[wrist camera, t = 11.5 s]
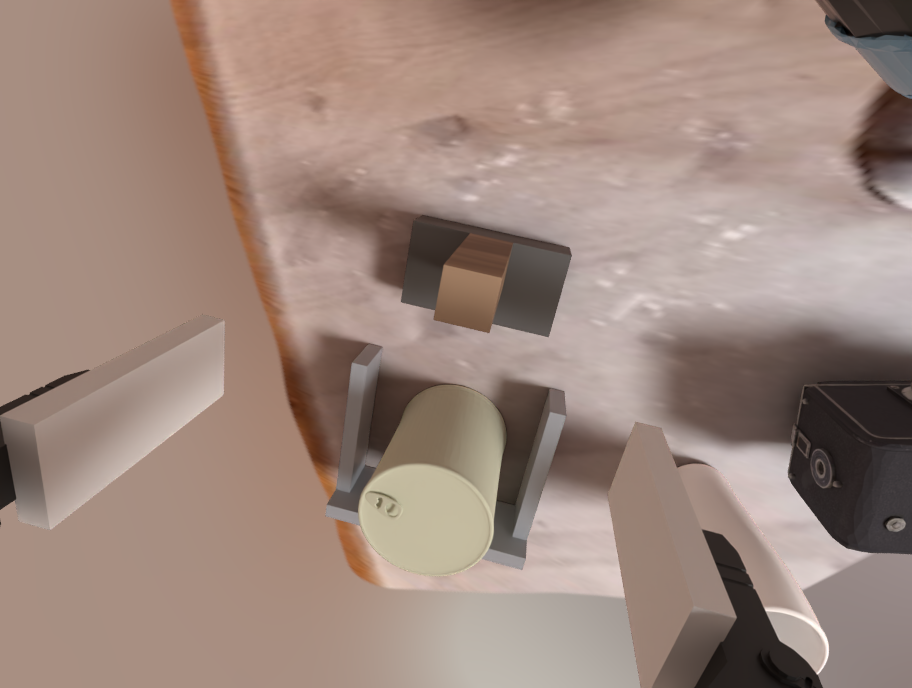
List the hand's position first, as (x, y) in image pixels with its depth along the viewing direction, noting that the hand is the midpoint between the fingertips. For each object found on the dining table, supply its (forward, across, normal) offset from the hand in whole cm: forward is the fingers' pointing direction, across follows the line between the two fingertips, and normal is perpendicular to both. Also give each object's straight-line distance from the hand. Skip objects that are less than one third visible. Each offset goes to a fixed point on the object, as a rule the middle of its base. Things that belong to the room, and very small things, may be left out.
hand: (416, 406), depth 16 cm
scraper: (+24, 0, -1) cm, 24 cm away
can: (+24, 0, -16) cm, 29 cm away
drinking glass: (+24, +20, -15) cm, 35 cm away
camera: (+24, +30, -5) cm, 39 cm away
